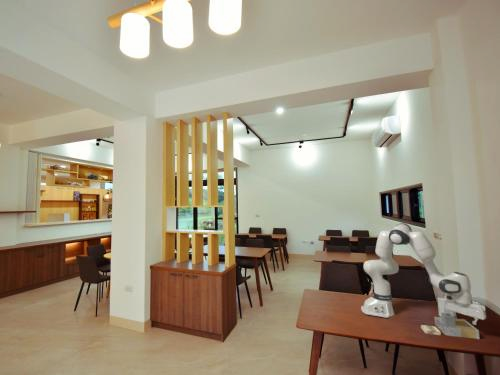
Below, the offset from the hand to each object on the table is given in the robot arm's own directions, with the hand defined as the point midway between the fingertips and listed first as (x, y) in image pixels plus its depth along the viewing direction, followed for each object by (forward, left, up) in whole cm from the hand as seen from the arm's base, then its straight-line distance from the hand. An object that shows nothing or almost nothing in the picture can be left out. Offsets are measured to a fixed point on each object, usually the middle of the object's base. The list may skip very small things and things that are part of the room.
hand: (464, 321), depth 149 cm
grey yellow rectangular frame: (-6, 0, -7) cm, 9 cm away
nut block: (-9, -1, -2) cm, 9 cm away
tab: (-21, -4, -7) cm, 22 cm away
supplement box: (-1, +20, -7) cm, 21 cm away
